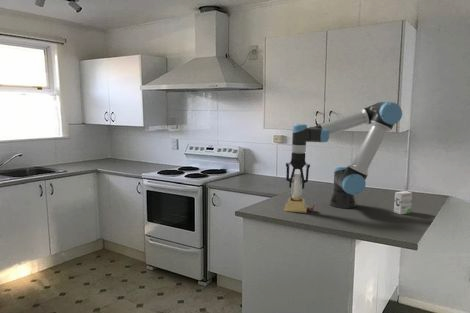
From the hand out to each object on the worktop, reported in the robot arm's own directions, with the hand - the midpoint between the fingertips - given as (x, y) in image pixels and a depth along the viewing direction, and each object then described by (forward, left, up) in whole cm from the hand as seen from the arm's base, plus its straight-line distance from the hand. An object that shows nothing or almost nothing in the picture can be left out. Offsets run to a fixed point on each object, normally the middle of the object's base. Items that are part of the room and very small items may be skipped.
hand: (296, 193), depth 208 cm
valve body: (-2, 0, -9) cm, 10 cm away
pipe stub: (0, 0, -3) cm, 3 cm away
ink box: (-58, -14, -10) cm, 61 cm away
